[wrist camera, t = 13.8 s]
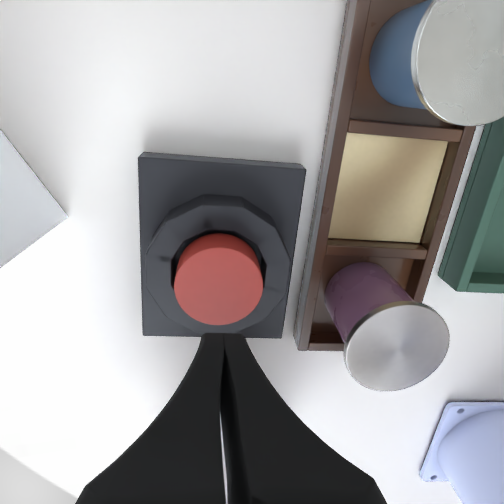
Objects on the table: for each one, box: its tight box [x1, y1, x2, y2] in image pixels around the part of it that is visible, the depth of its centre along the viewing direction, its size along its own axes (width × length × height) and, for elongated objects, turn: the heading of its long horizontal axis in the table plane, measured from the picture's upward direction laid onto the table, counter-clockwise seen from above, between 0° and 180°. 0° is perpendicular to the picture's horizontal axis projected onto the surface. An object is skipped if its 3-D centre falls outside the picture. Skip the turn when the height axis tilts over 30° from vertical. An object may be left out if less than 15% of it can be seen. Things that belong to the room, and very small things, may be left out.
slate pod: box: [369, 0, 504, 126], centre depth 15 cm, size 5×5×5 cm
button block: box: [138, 152, 306, 338], centre depth 20 cm, size 10×8×3 cm
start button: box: [174, 233, 263, 325], centre depth 18 cm, size 4×4×2 cm
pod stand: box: [293, 0, 476, 351], centre depth 20 cm, size 7×20×2 cm, turn 175°
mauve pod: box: [324, 262, 450, 391], centre depth 20 cm, size 5×5×5 cm
